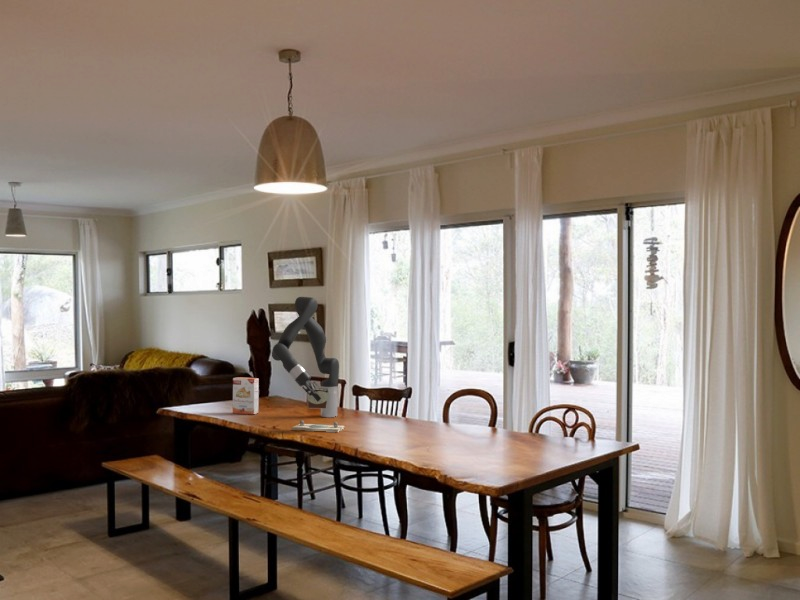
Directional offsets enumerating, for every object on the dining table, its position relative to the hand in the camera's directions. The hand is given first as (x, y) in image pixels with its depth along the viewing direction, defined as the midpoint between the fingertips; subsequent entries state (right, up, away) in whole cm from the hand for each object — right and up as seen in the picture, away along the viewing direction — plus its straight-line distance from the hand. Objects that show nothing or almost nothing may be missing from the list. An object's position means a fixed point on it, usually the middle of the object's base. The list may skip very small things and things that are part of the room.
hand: (321, 399), depth 346 cm
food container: (-2, -5, 0) cm, 5 cm away
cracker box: (-50, -16, +50) cm, 73 cm away
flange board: (-2, -15, 0) cm, 15 cm away
